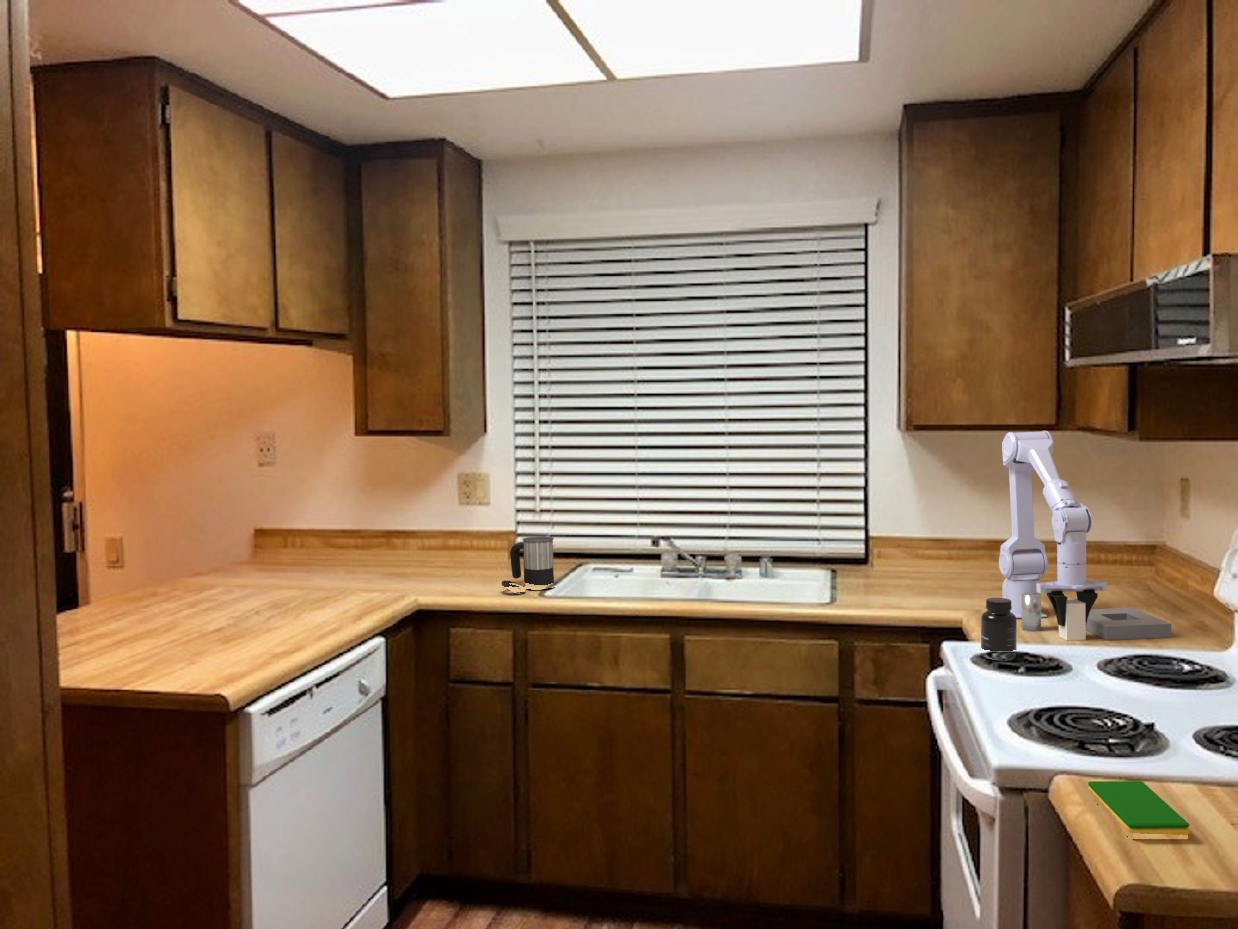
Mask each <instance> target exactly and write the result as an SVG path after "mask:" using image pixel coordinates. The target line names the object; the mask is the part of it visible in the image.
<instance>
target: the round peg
mask: <svg viewBox="0 0 1238 929" xmlns="http://www.w3.org/2000/svg"><path fill="white" fill-rule="evenodd" d="M1041 612H1042V594H1039V593H1031V592H1028V593H1022V618H1021V630H1023V629H1024V630H1023V631H1025V630H1027V631H1026V632H1040V631H1042V617H1041Z"/></svg>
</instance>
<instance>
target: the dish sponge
mask: <svg viewBox="0 0 1238 929" xmlns="http://www.w3.org/2000/svg"><path fill="white" fill-rule="evenodd" d="M1087 785H1088V787H1087V788H1088V789H1089V790H1090V791H1092V793H1093V794H1094V795H1095V796H1096V797H1097V798H1098V799H1099V801H1100V802H1101V803H1103V804H1104V806H1105V807H1106V808H1107V809H1108V810H1109V811H1110V812H1111V813H1112V815H1114V816H1115V817H1116V819H1117V820H1118V821H1119V822H1120V823H1121V824H1122V825H1123V827H1124V828H1126V830H1128V832H1130V833H1132V834H1133V833H1140V834H1145V833H1146V834H1167V835H1168V834H1169V835H1170V834H1171V835H1181V834H1182V835H1188V834H1189V835H1190V828H1189V827H1190V823H1189V822H1188V821H1186V819H1184V818H1183V816H1181V815H1180V814H1179V813H1178V812H1177V811H1175V809H1173V807H1171V806H1170V805H1169V804H1168V803H1167V802H1165V800H1164V799H1163V798H1161V797H1160V796H1159V795H1158V794H1156V792H1154V790H1152V789H1151V788H1150V787H1149V786H1148V785H1147V784H1145V783H1144V782H1143V781H1141V780H1109V781H1107V780H1106V781H1105V780H1103V781H1102V780H1101V781H1100V780H1098V781H1097V780H1096V781H1088V782H1087Z"/></svg>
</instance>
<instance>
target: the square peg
mask: <svg viewBox="0 0 1238 929" xmlns="http://www.w3.org/2000/svg"><path fill="white" fill-rule="evenodd" d="M1065 618H1066V621H1065V626H1060V625H1058V637H1060V638H1061V639H1063V640H1065V641H1067V640H1073V641H1086V635H1087V634H1086V631H1087V630H1086V619H1085V603H1084V602H1082V601H1079V600H1077V598H1076V599H1067V603H1066V610H1065Z"/></svg>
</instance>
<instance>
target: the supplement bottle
mask: <svg viewBox="0 0 1238 929" xmlns="http://www.w3.org/2000/svg"><path fill="white" fill-rule="evenodd" d="M985 604H986V605H985V609H986V610H985V611H984V612H982V614H981V616H980V649H981V648H982V649H984V650H990V651H1013V650H1017V648H1018V646H1017V643H1018V642H1017V641H1018V640H1017V639H1018V637H1017V634H1018V633H1017V632H1018V631H1017V628H1018V627H1017V624H1018V623H1017V622H1018V621H1017V619H1018V618H1016V616H1015V615H1014V614H1013V613H1011V612H1010V610H1012V607H1011V600H1010V599H1006V598H1002V597H988V598H987V599H986V601H985ZM1017 651H1018V650H1017Z"/></svg>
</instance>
